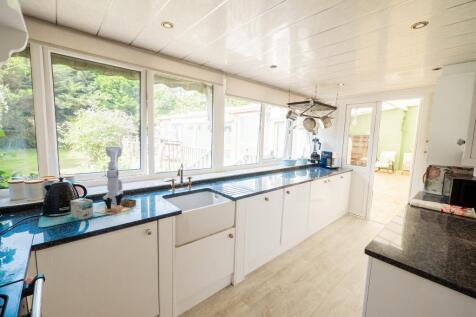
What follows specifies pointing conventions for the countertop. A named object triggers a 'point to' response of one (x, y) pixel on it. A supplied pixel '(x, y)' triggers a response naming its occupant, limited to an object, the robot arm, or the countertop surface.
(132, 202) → the box
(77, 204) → the light bulb box
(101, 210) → the board
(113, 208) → the salmon pink block
